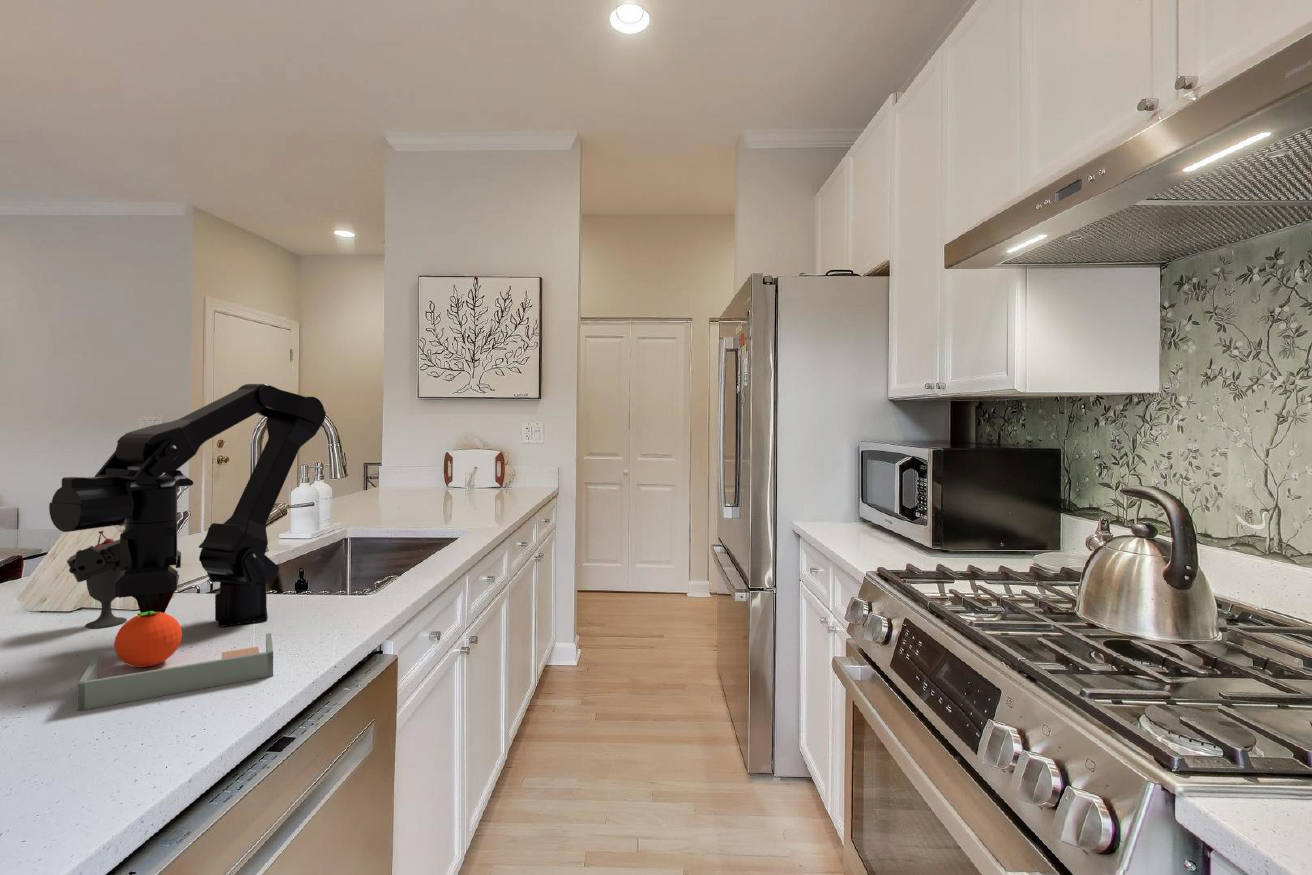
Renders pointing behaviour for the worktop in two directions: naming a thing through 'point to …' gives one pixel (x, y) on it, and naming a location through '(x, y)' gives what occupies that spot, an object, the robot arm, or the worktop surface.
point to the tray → (170, 679)
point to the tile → (240, 652)
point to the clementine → (148, 639)
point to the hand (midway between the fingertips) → (151, 631)
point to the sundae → (104, 594)
